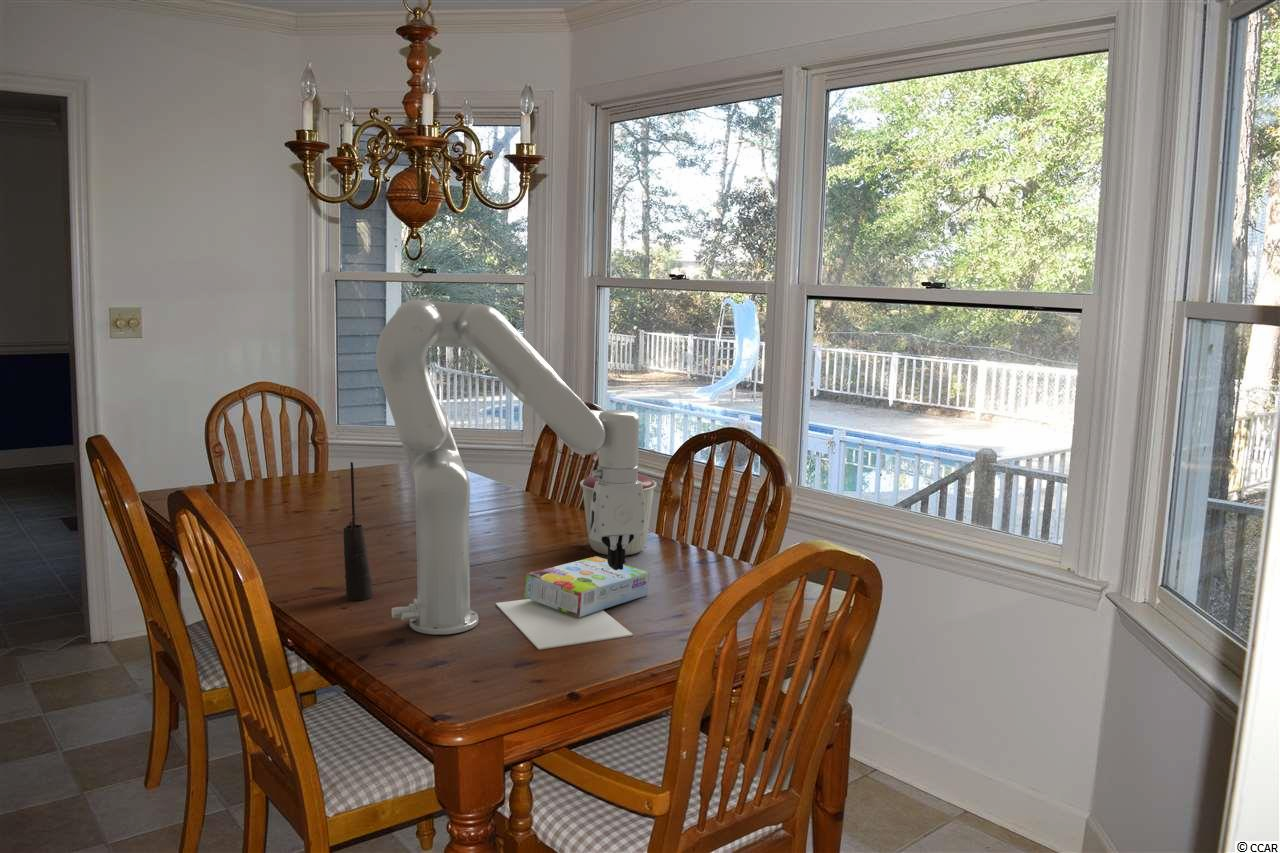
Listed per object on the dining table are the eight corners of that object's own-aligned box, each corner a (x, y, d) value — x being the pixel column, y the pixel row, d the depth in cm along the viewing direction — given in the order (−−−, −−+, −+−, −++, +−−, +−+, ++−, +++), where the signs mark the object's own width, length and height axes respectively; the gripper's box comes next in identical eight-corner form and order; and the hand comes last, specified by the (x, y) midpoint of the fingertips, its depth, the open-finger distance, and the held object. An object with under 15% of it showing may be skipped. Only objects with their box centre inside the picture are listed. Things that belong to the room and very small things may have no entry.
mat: (538, 649, 173) (538, 648, 173) (495, 604, 196) (495, 603, 196) (632, 635, 181) (632, 634, 181) (580, 593, 204) (580, 592, 204)
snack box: (648, 598, 204) (594, 578, 213) (651, 571, 203) (596, 553, 212) (577, 619, 187) (522, 597, 197) (579, 591, 186) (524, 570, 196)
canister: (586, 563, 226) (587, 472, 223) (573, 542, 243) (574, 457, 240) (663, 559, 230) (665, 469, 227) (645, 538, 247) (646, 455, 244)
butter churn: (339, 588, 205) (335, 454, 201) (386, 588, 206) (383, 455, 201) (328, 602, 196) (323, 463, 192) (377, 602, 197) (373, 463, 192)
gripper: (589, 481, 183) (587, 577, 185) (661, 476, 189) (659, 569, 192) (574, 473, 189) (572, 566, 192) (645, 469, 196) (642, 559, 198)
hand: (616, 567), depth 192 cm, fingers closed
